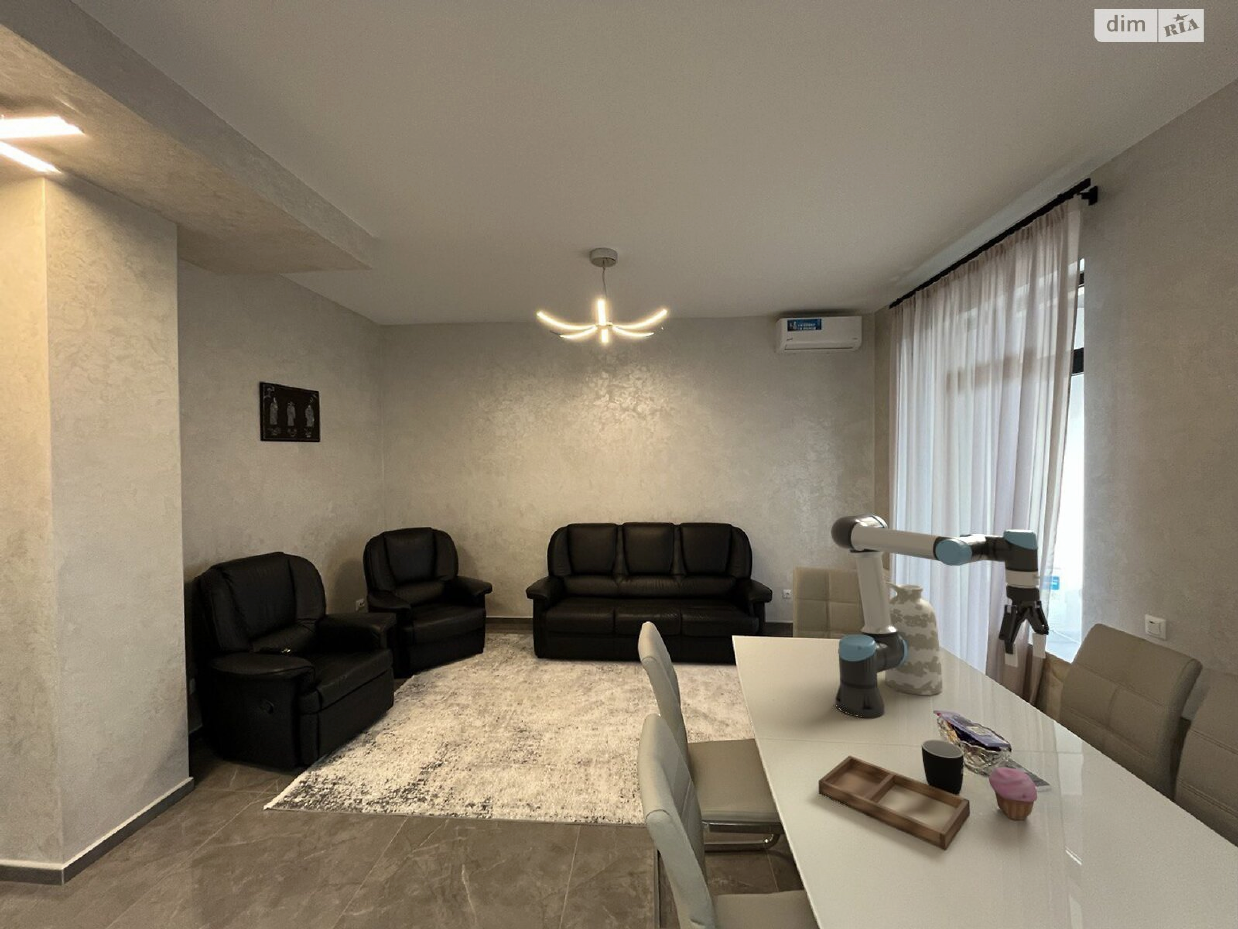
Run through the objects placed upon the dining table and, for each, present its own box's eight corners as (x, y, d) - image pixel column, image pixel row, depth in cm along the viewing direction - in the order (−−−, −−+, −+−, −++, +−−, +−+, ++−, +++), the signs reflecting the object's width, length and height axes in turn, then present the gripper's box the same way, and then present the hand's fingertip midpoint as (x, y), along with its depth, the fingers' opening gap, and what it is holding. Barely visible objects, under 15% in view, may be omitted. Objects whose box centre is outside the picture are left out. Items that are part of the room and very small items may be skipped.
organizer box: (819, 794, 131) (818, 781, 131) (849, 767, 143) (849, 755, 143) (945, 850, 110) (944, 834, 110) (969, 814, 122) (969, 800, 122)
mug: (969, 803, 126) (967, 760, 126) (927, 796, 129) (925, 754, 129) (957, 776, 137) (955, 736, 137) (918, 770, 140) (916, 732, 141)
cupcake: (982, 803, 126) (980, 760, 126) (1019, 802, 125) (1017, 760, 126) (1008, 827, 117) (1006, 781, 117) (1048, 827, 117) (1046, 781, 117)
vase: (935, 679, 201) (931, 578, 203) (948, 698, 184) (943, 588, 185) (877, 674, 208) (873, 577, 209) (884, 692, 190) (879, 586, 192)
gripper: (1011, 593, 140) (1014, 673, 139) (1062, 582, 150) (1065, 657, 150) (981, 587, 146) (984, 664, 146) (1032, 578, 157) (1035, 650, 156)
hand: (1025, 661), depth 148 cm, fingers open, 13 cm apart
